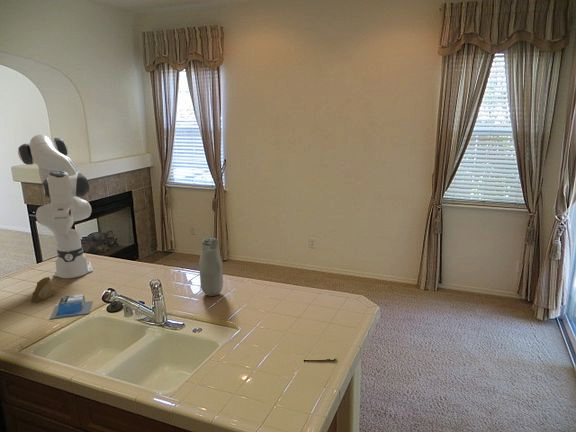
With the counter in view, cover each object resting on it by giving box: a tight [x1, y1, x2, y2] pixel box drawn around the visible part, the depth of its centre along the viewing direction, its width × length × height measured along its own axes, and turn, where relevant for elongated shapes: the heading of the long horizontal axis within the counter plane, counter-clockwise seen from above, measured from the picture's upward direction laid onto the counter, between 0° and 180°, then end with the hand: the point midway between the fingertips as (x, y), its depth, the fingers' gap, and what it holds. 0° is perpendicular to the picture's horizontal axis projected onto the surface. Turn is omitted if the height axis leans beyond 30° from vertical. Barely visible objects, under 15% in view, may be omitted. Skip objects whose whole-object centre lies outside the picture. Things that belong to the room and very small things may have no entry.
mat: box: [49, 300, 94, 320], centre depth 178 cm, size 12×15×1 cm
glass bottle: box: [198, 236, 224, 297], centre depth 189 cm, size 10×10×28 cm
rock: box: [30, 276, 54, 303], centre depth 189 cm, size 11×9×10 cm
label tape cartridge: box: [57, 293, 86, 317], centre depth 178 cm, size 9×4×12 cm
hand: (67, 239), depth 181 cm, fingers closed
